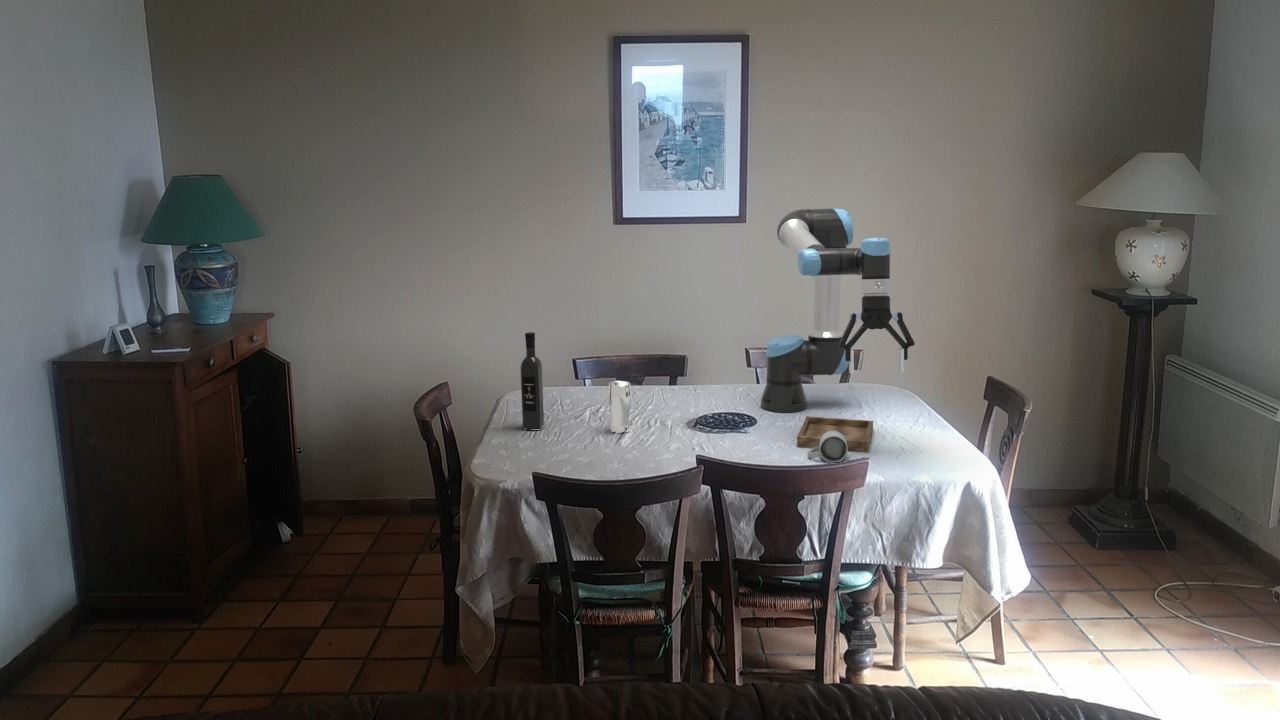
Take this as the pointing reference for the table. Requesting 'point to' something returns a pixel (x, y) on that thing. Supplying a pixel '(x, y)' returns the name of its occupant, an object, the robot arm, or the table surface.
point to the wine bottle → (531, 386)
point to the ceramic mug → (830, 447)
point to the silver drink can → (619, 405)
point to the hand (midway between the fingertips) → (876, 372)
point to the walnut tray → (852, 430)
